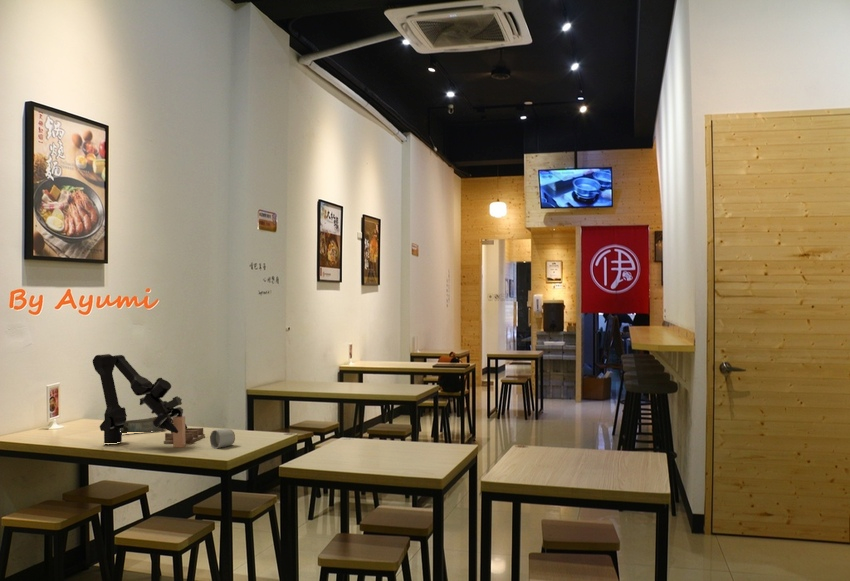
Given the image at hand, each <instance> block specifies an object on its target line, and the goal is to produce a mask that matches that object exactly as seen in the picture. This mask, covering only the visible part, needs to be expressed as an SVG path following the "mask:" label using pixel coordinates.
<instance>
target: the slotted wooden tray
mask: <svg viewBox="0 0 850 581" xmlns="http://www.w3.org/2000/svg"><path fill="white" fill-rule="evenodd" d="M205 435H206V434H205V433H204V427H187V429H185V445H186V444H187V445H188V444H189V445H190V444H193V443H195V442H197V441H199V440H200V439H203V438H205V437H206V436H205ZM163 445H173V432H171V431H170V432H166V433H164V440H163Z"/></svg>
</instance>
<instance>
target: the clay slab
mask: <svg viewBox="0 0 850 581" xmlns="http://www.w3.org/2000/svg"><path fill="white" fill-rule="evenodd" d="M185 424H186V416H183V415H182V416H181V417H174V418H173V425H174V426H175V427H176V428H177V430H178V431H179V432H178V433H174V432H173V444H172V445H173V448H184V447H186V444H185Z"/></svg>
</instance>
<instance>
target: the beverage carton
mask: <svg viewBox="0 0 850 581" xmlns="http://www.w3.org/2000/svg"><path fill="white" fill-rule="evenodd" d="M156 417H157V416H154V417H153V416H152V417H148V418H141V419H131V420H126V421H125V425H124V428H120V431H121V432H122V433H127V432H151V431H161V432H164V429H162V428H158V427H159V426H160V424H159V426H158V427H155V426H154V425H153V420H154V419H155V418H156ZM151 433H152V432H151Z"/></svg>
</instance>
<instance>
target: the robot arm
mask: <svg viewBox="0 0 850 581" xmlns="http://www.w3.org/2000/svg"><path fill="white" fill-rule="evenodd" d="M92 366H93V369H94V371H95V372H96V374H98V375H99V378H100V381H101V382H100V383H101V386H102V387H101V388H102V391H103V396H104V401H105V405H106V409H105V412H104V414H103V415H104V419H103V421H102V422H101V423H100V425H99V429H100V431H101V432H103V444H104V443H117V442H120V443H122V442H123V435H122V432H120V428H124V425H125V421H127V417H128V415H127V413H126V408H125V407H122V406H121V405H120V403H119V398H118V395H117V390H116V385H115V380H114V375H113V372H114V369H115V367H116V368H117V370H118V371H119V372H120V373H121V374H122V375H123V376H124V377H125V379H126V380H127V381H128V382H129V384H130V389H131V390H132V392H133V394H134V395H135V396H138V397H139V396H143V397H141V398H139V405H140V406H142V405H144V404H145V405H146V406H147V407H148V408H149V409H150V410H151V414H153V415H154V414H155V415H156V416H155V417H156V418H155V419H154V420H153V425H154V426H155V427H158V426H159V424H160V426H159V427H158V428H162V429H163V430H166V431H168V432H170V433H171V432H174V433H178V432H179V431H178V430H177V428H176V427H175V426H174V425H173V418H174V417H181V416H183V414H184V409H183V407H181V406H180V405H182V404H183V403H182V398H181V397H180V396H178V395H177V396H174V397H172V399H171V400H169V401H167V400H164V401H163V400H162V398H164V397H165V395H166V394H167V393H168V392H169V391H170V390H171V388H172V384H171V382H169V381H167V380H166V379H164V378H162V377H158V378H157V379H156V380H155V382H154V383H153V382H151V380H149V379H148V378H146V377H144V376H143V375H142V376H141V374H139V373H138V371H137V370H136V369H135V368H134V367H133V366H132V365H131V363H130V362H128V360H127V359H126V357H125V355H123V354H118V355H117V354H116V355H115V354H114V355H112V354H110V353H106V354H105V353H104V354H96V355H95V356H94V357H93V358H92ZM144 395H145V396H144ZM178 406H179V407H178ZM187 428H188V426H187V424H186V423H185V429H187Z"/></svg>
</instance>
